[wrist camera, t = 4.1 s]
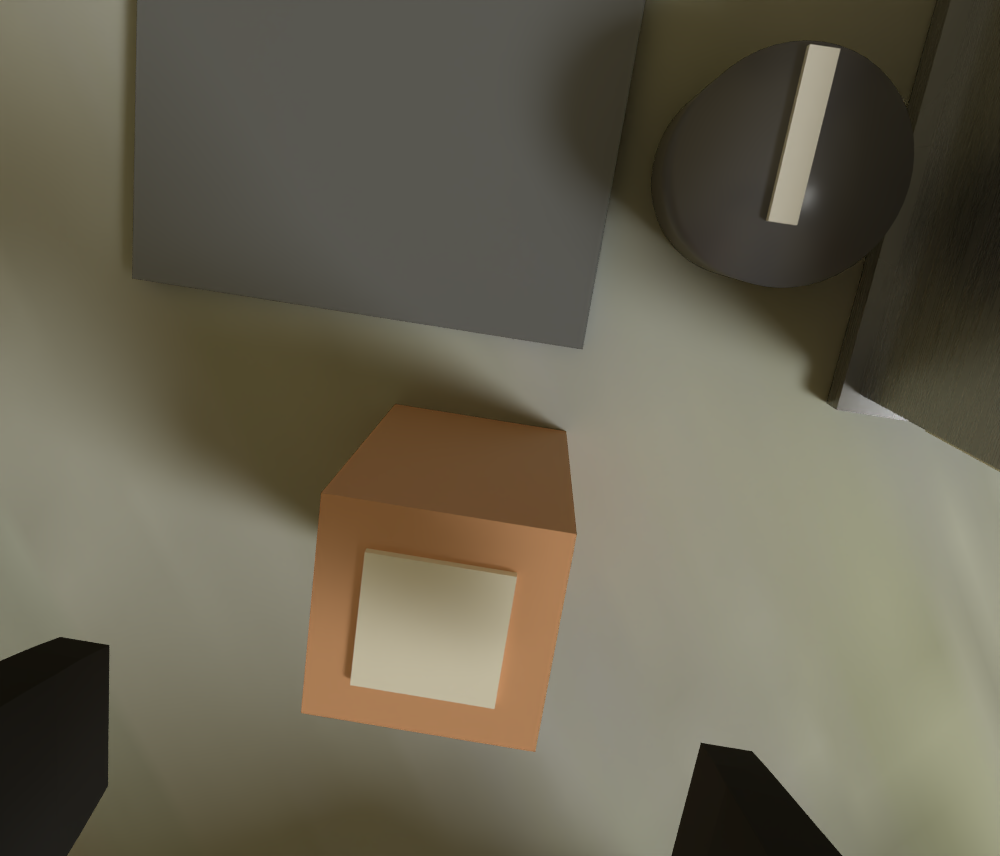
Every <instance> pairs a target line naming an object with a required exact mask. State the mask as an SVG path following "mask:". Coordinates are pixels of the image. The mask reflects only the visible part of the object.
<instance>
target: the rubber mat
mask: <svg viewBox="0 0 1000 856" xmlns="http://www.w3.org/2000/svg"><path fill="white" fill-rule="evenodd" d="M644 6H645V0H137V38H136V95H135V152H134V209H133V266H132V278H133V279H140V280H146V281H152V282H159V283H165V284H171V285H178V286H184V287H190V288H197V289H203V290H209V291H216V292H222V293H228V294H235V295H241V296H247V297H254V298H260V299H266V300H273V301H279V302H285V303H292V304H298V305H304V306H311V307H317V308H323V309H330V310H336V311H342V312H349V313H355V314H361V315H368V316H374V317H380V318H387V319H393V320H400V321H406V322H412V323H419V324H425V325H431V326H438V327H444V328H450V329H457V330H463V331H469V332H476V333H482V334H488V335H495V336H501V337H507V338H514V339H520V340H526V341H533V342H539V343H545V344H552V345H558V346H564V347H571V348H577V349H583V343H584V338H585V332H586V327H587V321H588V316H589V310H590V305H591V299H592V294H593V288H594V282H595V277H596V271H597V266H598V260H599V255H600V249H601V244H602V238H603V233H604V227H605V222H606V216H607V211H608V205H609V200H610V194H611V188H612V183H613V177H614V172H615V166H616V161H617V155H618V150H619V144H620V139H621V133H622V128H623V122H624V117H625V111H626V105H627V100H628V94H629V89H630V83H631V78H632V72H633V67H634V61H635V56H636V50H637V45H638V39H639V34H640V28H641V23H642V17H643V11H644Z"/></svg>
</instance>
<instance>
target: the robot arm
mask: <svg viewBox="0 0 1000 856" xmlns="http://www.w3.org/2000/svg"><path fill="white" fill-rule="evenodd" d="M108 724H109V645H105V644H99V643H93V642H87V641H81V640H75V639H69V638H63V637H59V638H56V639H54V640H51V641H48V642H45V643H43V644H40V645H37V646H35V647H32V648H30V649H28V650H25V651H23V652H20V653H18V654H16V655H13V656H11V657H9V658H6V659H4V660H2V661H0V856H67V854H68V853H69V851H70V850H71V848H72V846H73V845H74V843H75V841H76V840H77V838H78V837H79V835H80V833H81V832H82V830H83V828H84V826H85V825H86V823H87V821H88V819H89V818H90V816H91V814H92V813H93V811H94V809H95V807H96V806H97V804H98V802H99V800H100V799H101V797H102V795H103V793H104V792H105V790H106V788H107V786H108ZM672 856H842V855H841V854H840V853H839V851H838V850H837V849H836V848H835V847H834V846H833V845H832V843H831V842H830V841H829V840H828V839H827V838H826V836H825V835H824V834H823V833H822V832H821V831H820V829H819V828H818V827H817V826H816V825H815V823H814V822H813V821H812V820H811V819H810V818H809V816H808V815H807V814H806V813H805V812H804V811H803V809H802V808H801V807H800V806H799V805H798V804H797V802H796V801H795V800H794V799H793V798H792V796H791V795H790V794H789V793H788V792H787V791H786V789H785V788H784V787H783V786H782V785H781V784H780V782H779V781H778V780H777V779H776V778H775V777H774V775H773V774H772V773H771V772H770V771H769V770H768V769H767V767H766V766H765V765H764V764H763V763H762V762H761V761H760V760H759V758H758V757H757V756H756V755H755V754H754V753H753V752H752V751H747V750H741V749H735V748H729V747H723V746H716V745H710V744H704V743H701V745H700V749H699V753H698V757H697V760H696V764H695V768H694V772H693V776H692V779H691V783H690V787H689V791H688V795H687V799H686V802H685V806H684V810H683V814H682V818H681V822H680V825H679V829H678V833H677V837H676V841H675V844H674V848H673V852H672Z"/></svg>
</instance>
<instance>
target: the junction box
mask: <svg viewBox="0 0 1000 856" xmlns="http://www.w3.org/2000/svg"><path fill="white" fill-rule="evenodd" d="M907 112H908V115H909V118H910V121H911V126H912V132H913V137H914V164H913V173H912V177H911V182H910V186H909V189H908V192H907V195H906V198H905V201H904V203H903V206H902V208H901V210H900V212H899V214H898V216H897V218H896V219H895V221H894V222H893V224H892V226H891V227H890V229H889V230H888V232H887V233H886V234H885V235H884V237H883V238H882V239H881V240H880V241H879V243H878V244H877V245H876V246H875V247H874V248H873V249H872V250H871V251H870V252H869V253H868V254H867V258H866V262H865V265H864V269H863V272H862V276H861V280H860V283H859V287H858V291H857V294H856V298H855V302H854V305H853V309H852V313H851V316H850V320H849V323H848V327H847V331H846V334H845V338H844V342H843V345H842V349H841V353H840V356H839V360H838V364H837V367H836V371H835V375H834V378H833V382H832V385H831V389H830V393H829V396H828V400H827V404H829V405H830V406H832V407H833V408H835V409H836V410H842V411H848V412H855V413H861V414H867V415H874V416H880V417H886V418H893V419H899V420H905V421H910V422H912V423H914V424H915V425H917V426H919V427H921V428H923V429H925V431H926V432H928V433H929V434H931V435H933V436H935V437H937V438H939V439H940V440H942V441H944V442H946V443H948V444H950V445H951V446H953V447H955V448H957V449H959V450H961V451H962V452H964V453H966V454H968V455H970V456H972V457H973V458H975V459H977V460H979V461H981V462H983V463H984V464H986V465H988V466H990V467H992V468H994V469H995V470H997V471H999V472H1000V0H937V3H936V6H935V10H934V14H933V17H932V21H931V25H930V28H929V32H928V36H927V39H926V43H925V47H924V50H923V54H922V57H921V61H920V65H919V68H918V72H917V76H916V79H915V83H914V87H913V90H912V94H911V98H910V101H909V105H908V108H907Z"/></svg>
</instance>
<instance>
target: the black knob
mask: <svg viewBox="0 0 1000 856" xmlns="http://www.w3.org/2000/svg"><path fill="white" fill-rule="evenodd" d="M913 164H914V137H913V132H912V126H911V121H910V118H909V115H908V112H907V109H906V106H905V104H904V102H903V100H902V98H901V96H900V94H899V92H898V91H897V89H896V88H895V86H894V85H893V83H892V82H891V80H890V79H889V78H888V77H887V76H886V75H885V74H884V73H883V72H882V71H881V69H880V68H878V67H877V66H876V65H875V64H873V63H872V62H871V61H870V60H868V59H867V58H865V57H863V56H862V55H860V54H858V53H856V52H855V51H852V50H850V49H847V48H845V47H842V46H840V45H835V44H831V43H827V42H819V41H793V42H787V43H782V44H777V45H773V46H771V47H768V48H765V49H762V50H759V51H757V52H755V53H753V54H751V55H749V56H747V57H745V58H743V59H742V60H740V61H739V62H737V63H736V64H734V65H733V66H731V67H730V68H729V69H728V70H726V71H725V72H724V73H723V74H722V75H720V76H719V77H718V78H717V79H716V80H714V81H713V82H712V83H711V84H710V85H708V86H707V87H706V88H705V89H704V90H702V91H701V92H700V93H699V94H698V95H696V96H695V97H694V98H693V99H692V100H691V101H689V102H688V103H687V104H686V105H685V106H684V107H683V108H682V109H681V110H680V111H679V113H678V114H677V115H676V116H675V117H674V119H673V120H672V122H671V123H670V124H669V126H668V127H667V129H666V131H665V133H664V135H663V137H662V139H661V141H660V144H659V146H658V149H657V151H656V155H655V159H654V163H653V169H652V177H651V192H652V200H653V206H654V209H655V213H656V217H657V219H658V222H659V224H660V226H661V228H662V230H663V232H664V234H665V235H666V237H667V239H668V240H669V241H670V242H671V244H672V245H673V246H674V248H675V249H677V250H678V251H679V252H680V253H681V254H682V255H683V256H684V257H685V258H687V259H688V260H689V261H691V262H692V263H694V264H696V265H697V266H699V267H701V268H703V269H706V270H708V271H711V272H714V273H717V274H720V275H724V276H727V277H731V278H734V279H738V280H741V281H745V282H748V283H752V284H756V285H761V286H766V287H778V288H784V287H798V286H803V285H809V284H813V283H816V282H819V281H823V280H825V279H828V278H830V277H832V276H835V275H837V274H839V273H841V272H842V271H844V270H846V269H847V268H849V267H851V266H852V265H854V264H855V263H856V262H858V261H859V260H860V259H862V258H863V257H864V256H866V255H867V254H868V253H869V252H870V251H871V250H872V249H873V248H874V247H875V246H876V245H877V244H878V243H879V241H880V240H881V239H882V238H883V237H884V235H885V234H886V233H887V232H888V230H889V229H890V227H891V226H892V224H893V222H894V221H895V219H896V218H897V216H898V214H899V212H900V210H901V208H902V206H903V203H904V201H905V198H906V195H907V192H908V189H909V186H910V182H911V177H912V173H913Z"/></svg>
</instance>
